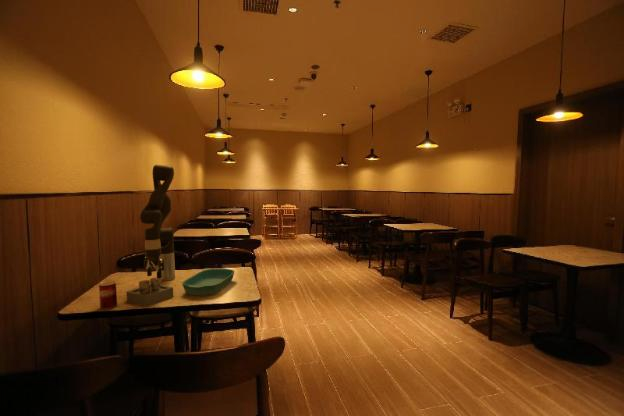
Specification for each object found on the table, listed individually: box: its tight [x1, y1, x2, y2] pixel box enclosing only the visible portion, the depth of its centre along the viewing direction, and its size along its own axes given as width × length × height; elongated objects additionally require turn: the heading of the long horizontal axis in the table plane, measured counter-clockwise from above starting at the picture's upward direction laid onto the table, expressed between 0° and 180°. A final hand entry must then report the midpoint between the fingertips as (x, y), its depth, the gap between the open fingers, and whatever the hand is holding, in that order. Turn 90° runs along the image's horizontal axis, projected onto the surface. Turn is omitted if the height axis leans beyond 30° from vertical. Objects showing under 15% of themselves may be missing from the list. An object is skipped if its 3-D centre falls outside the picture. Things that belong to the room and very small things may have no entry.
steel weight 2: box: [149, 276, 162, 291], centre depth 171 cm, size 5×5×6 cm
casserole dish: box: [181, 267, 236, 296], centre depth 186 cm, size 37×22×7 cm, turn 172°
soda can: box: [98, 280, 118, 310], centre depth 158 cm, size 7×7×12 cm
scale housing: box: [125, 284, 174, 307], centre depth 169 cm, size 16×16×5 cm
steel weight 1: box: [138, 279, 150, 294], centre depth 166 cm, size 5×5×6 cm
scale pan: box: [136, 288, 164, 295], centre depth 169 cm, size 12×12×2 cm
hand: (154, 277), depth 171 cm, fingers open, 8 cm apart
